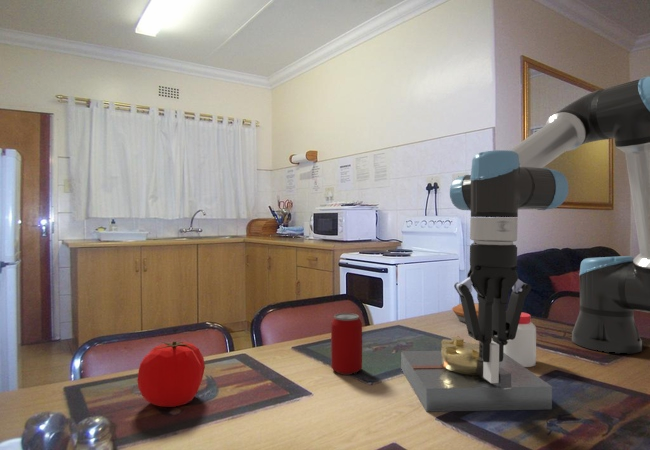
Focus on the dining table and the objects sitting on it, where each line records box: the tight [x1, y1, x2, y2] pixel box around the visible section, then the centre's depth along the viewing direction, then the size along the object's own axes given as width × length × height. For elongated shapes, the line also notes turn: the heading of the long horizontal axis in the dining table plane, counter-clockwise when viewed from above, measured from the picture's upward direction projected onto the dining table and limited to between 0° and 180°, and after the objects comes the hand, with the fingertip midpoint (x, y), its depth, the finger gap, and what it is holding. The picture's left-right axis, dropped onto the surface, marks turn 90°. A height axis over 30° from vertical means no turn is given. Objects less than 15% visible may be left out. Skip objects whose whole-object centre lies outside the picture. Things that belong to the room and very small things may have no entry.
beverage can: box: [330, 312, 363, 375], centre depth 91 cm, size 7×7×12 cm
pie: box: [451, 302, 478, 324], centre depth 135 cm, size 16×16×5 cm
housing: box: [400, 350, 553, 413], centre depth 81 cm, size 22×21×4 cm
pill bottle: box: [503, 311, 537, 368], centre depth 96 cm, size 8×8×11 cm
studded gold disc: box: [440, 336, 511, 389], centre depth 78 cm, size 17×10×4 cm, turn 12°
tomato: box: [136, 340, 206, 408], centre depth 76 cm, size 12×12×11 cm
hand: (490, 379), depth 71 cm, fingers closed
